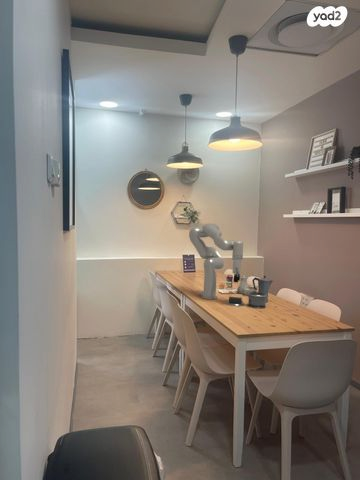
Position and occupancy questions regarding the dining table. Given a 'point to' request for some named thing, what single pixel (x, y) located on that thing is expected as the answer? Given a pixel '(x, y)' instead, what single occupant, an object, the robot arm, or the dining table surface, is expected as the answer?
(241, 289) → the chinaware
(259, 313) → the dining table surface
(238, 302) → the lid
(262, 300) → the pot
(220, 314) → the dining table surface
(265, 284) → the moka pot
